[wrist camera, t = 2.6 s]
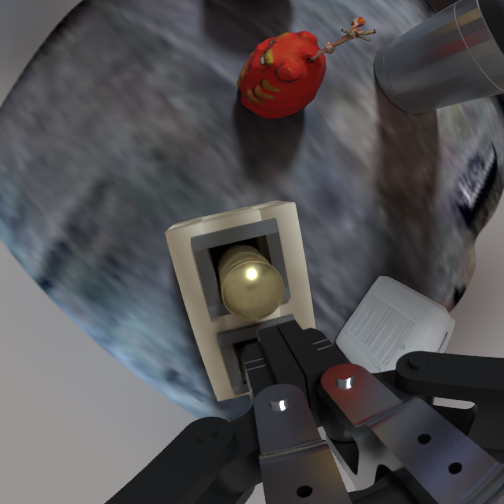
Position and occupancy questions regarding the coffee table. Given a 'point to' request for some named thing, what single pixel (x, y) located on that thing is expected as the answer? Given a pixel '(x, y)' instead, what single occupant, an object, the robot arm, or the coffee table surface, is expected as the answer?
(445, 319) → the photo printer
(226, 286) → the peg brass
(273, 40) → the red clay folk toy
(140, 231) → the coffee table surface
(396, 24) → the coffee table surface
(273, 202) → the birch block
